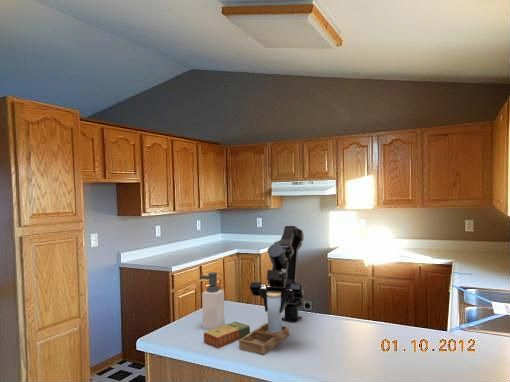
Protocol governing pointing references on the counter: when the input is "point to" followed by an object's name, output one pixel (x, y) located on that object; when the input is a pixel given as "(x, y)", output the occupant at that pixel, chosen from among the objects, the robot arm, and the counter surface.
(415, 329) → the counter surface
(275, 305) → the jar
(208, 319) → the soap dispenser
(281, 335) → the caddy
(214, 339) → the carton
